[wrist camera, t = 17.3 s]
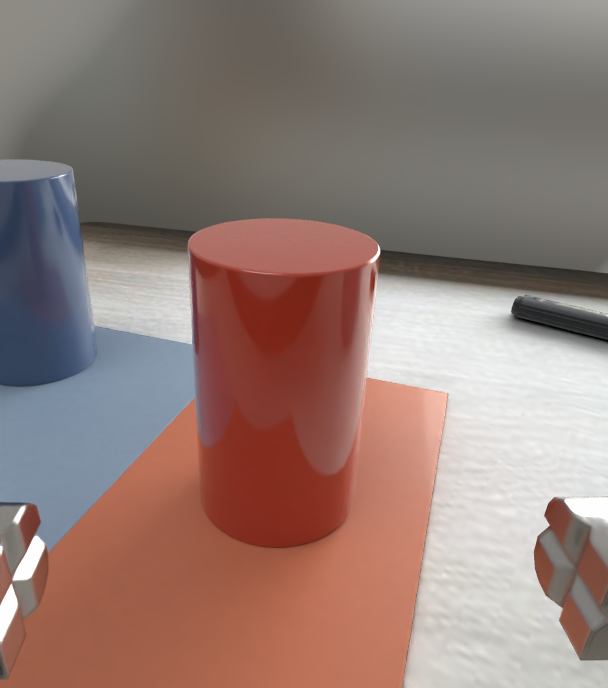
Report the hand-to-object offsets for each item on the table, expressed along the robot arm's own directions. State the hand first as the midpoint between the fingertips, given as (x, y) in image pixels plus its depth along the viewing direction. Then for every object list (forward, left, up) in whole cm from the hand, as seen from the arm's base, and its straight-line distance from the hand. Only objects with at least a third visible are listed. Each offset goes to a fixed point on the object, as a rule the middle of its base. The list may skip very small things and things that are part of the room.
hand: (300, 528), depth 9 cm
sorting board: (-11, +10, -9) cm, 17 cm away
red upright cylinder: (-4, +10, -8) cm, 13 cm away
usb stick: (+10, +32, -9) cm, 35 cm away
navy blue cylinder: (-19, +15, -8) cm, 26 cm away
